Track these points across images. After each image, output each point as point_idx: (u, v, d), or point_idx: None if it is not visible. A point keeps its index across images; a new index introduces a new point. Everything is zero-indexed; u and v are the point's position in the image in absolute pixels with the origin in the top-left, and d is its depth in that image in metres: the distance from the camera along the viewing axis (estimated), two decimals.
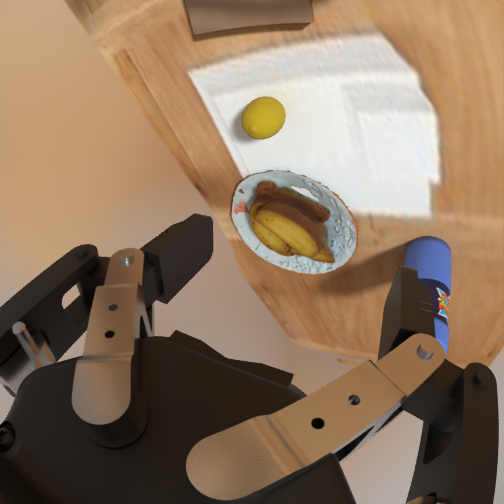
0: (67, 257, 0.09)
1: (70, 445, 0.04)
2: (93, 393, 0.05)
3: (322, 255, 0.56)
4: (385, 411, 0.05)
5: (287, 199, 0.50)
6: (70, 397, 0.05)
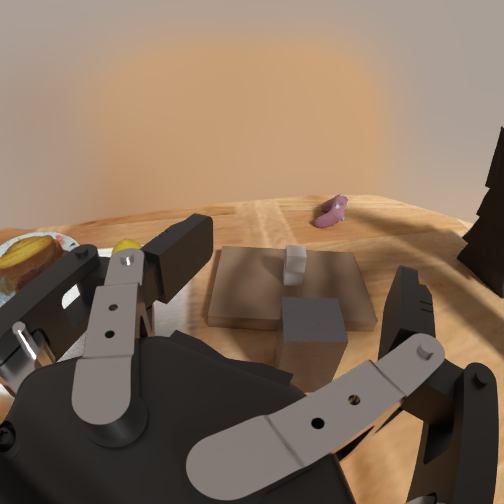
0: (67, 257, 0.09)
1: (70, 445, 0.04)
2: (93, 393, 0.05)
3: None
4: (385, 411, 0.05)
5: None
6: (70, 397, 0.05)
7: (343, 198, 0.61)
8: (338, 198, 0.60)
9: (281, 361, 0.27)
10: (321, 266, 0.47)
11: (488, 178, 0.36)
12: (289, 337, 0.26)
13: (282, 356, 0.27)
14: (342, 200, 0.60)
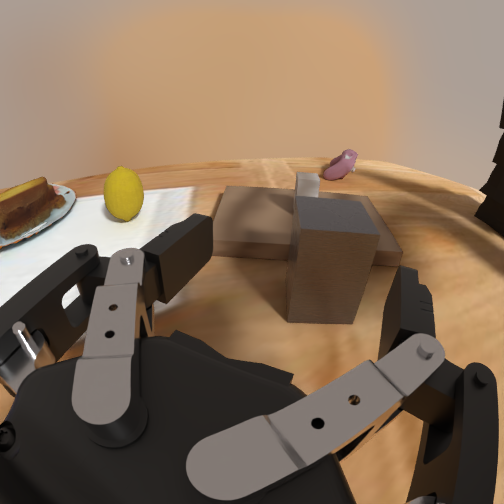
0: (67, 257, 0.09)
1: (70, 445, 0.04)
2: (93, 393, 0.05)
3: None
4: (385, 411, 0.05)
5: (38, 207, 0.38)
6: (70, 397, 0.05)
7: (353, 151, 0.56)
8: (347, 150, 0.55)
9: (297, 265, 0.22)
10: None
11: (502, 118, 0.30)
12: (307, 226, 0.21)
13: (298, 256, 0.22)
14: (352, 152, 0.55)
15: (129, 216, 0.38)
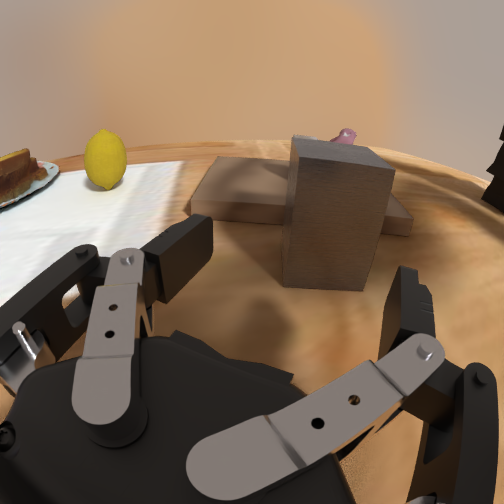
0: (67, 257, 0.09)
1: (70, 445, 0.04)
2: (93, 393, 0.05)
3: None
4: (385, 411, 0.05)
5: (18, 178, 0.33)
6: (70, 397, 0.05)
7: (351, 130, 0.52)
8: (346, 129, 0.51)
9: (295, 207, 0.18)
10: None
11: None
12: (307, 155, 0.16)
13: (297, 194, 0.17)
14: (350, 130, 0.51)
15: (110, 182, 0.33)
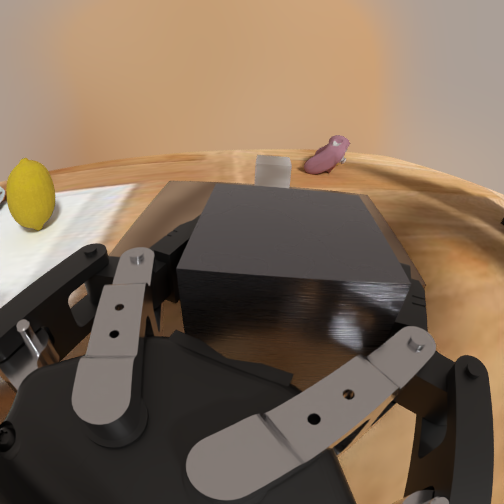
0: (76, 256, 0.09)
1: (70, 445, 0.04)
2: (93, 393, 0.05)
3: None
4: (380, 404, 0.05)
5: None
6: (70, 399, 0.05)
7: (343, 137, 0.43)
8: (336, 136, 0.42)
9: None
10: None
11: None
12: (200, 259, 0.07)
13: (188, 333, 0.08)
14: (342, 138, 0.42)
15: (35, 224, 0.24)
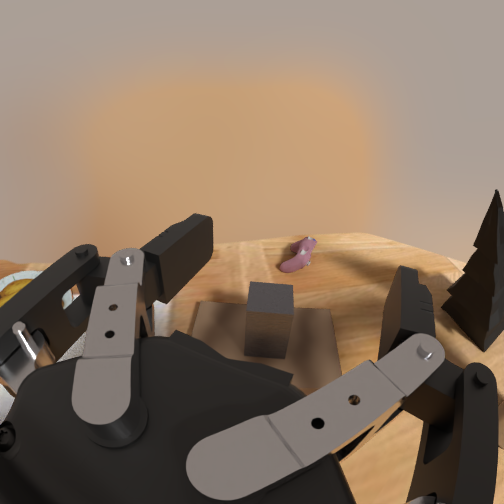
0: (67, 257, 0.09)
1: (70, 445, 0.04)
2: (93, 393, 0.05)
3: None
4: (385, 411, 0.05)
5: None
6: (70, 397, 0.05)
7: (310, 242, 0.62)
8: (305, 242, 0.62)
9: (246, 327, 0.38)
10: (295, 326, 0.47)
11: (477, 239, 0.36)
12: (250, 308, 0.37)
13: (246, 323, 0.38)
14: (309, 245, 0.61)
15: None
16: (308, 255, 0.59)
